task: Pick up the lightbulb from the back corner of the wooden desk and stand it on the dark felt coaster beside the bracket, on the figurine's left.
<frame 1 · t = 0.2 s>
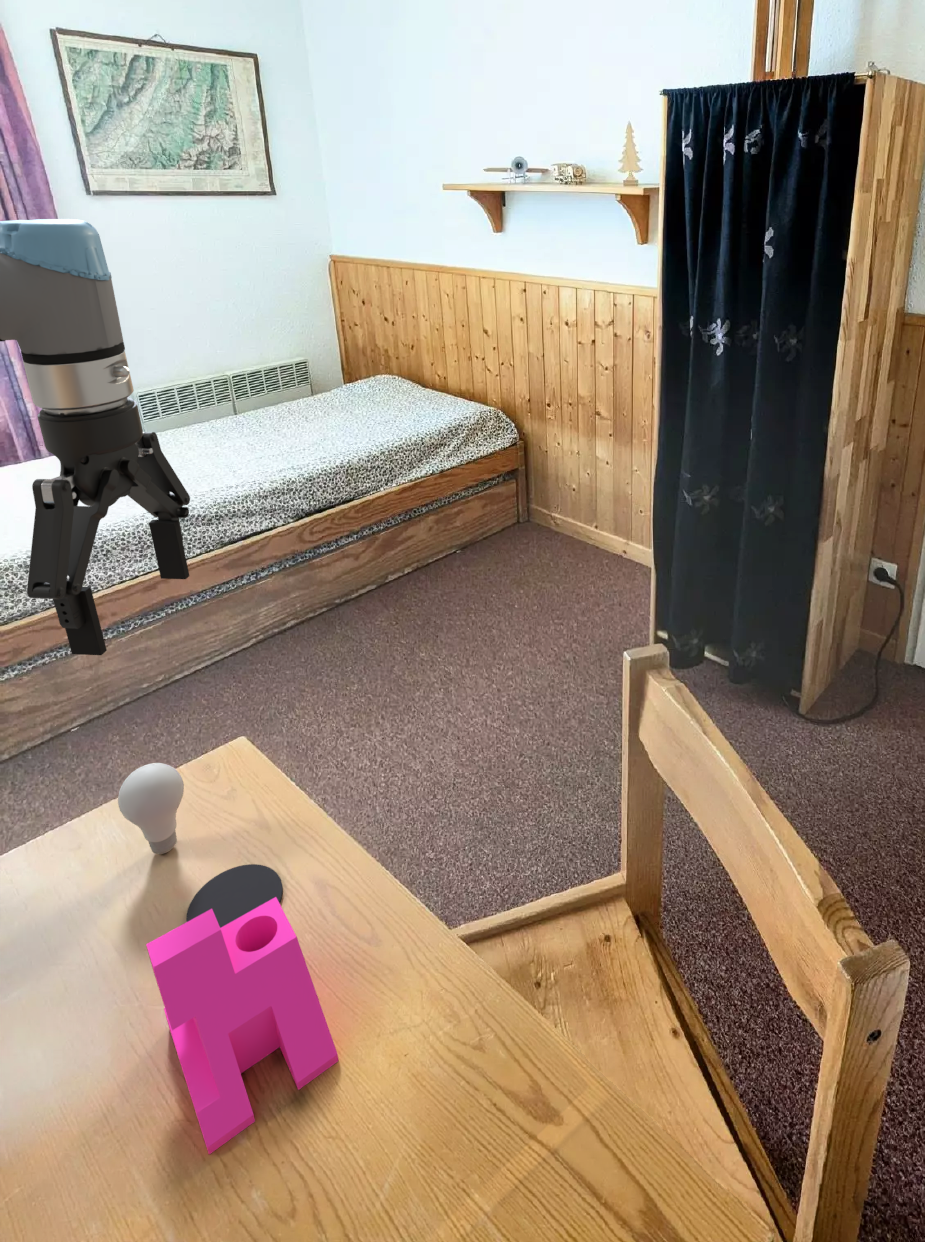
hand: (136, 612, 75), 30 cm above the table, tool pointing down, fingers open, 13 cm apart
lightbulb: (165, 851, 85), on the table
bracket: (252, 1045, 66), on the table
coaster: (235, 904, 79), on the table
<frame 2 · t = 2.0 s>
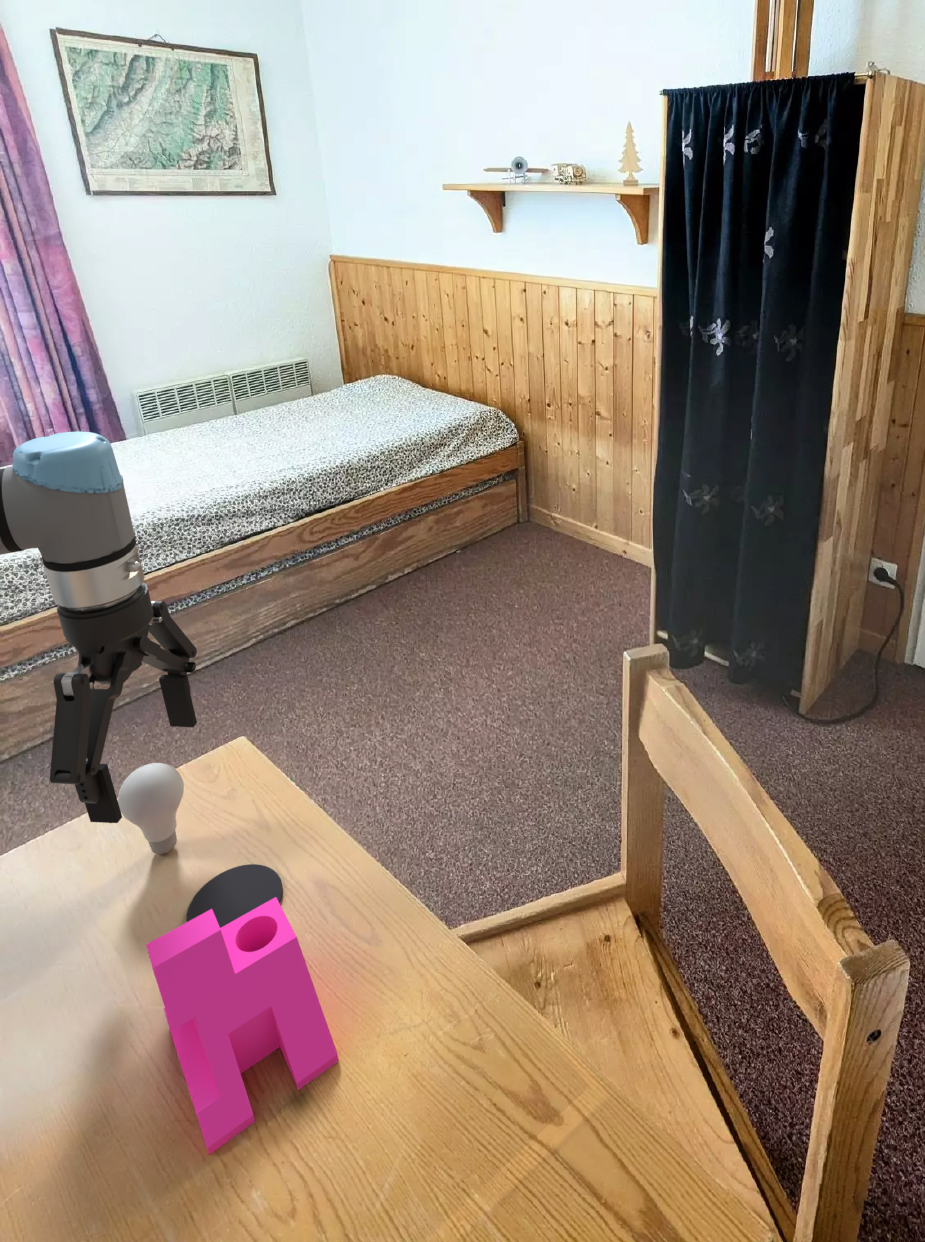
hand: (148, 768, 81), 11 cm above the table, tool pointing down, fingers open, 13 cm apart
nothing on the table moved.
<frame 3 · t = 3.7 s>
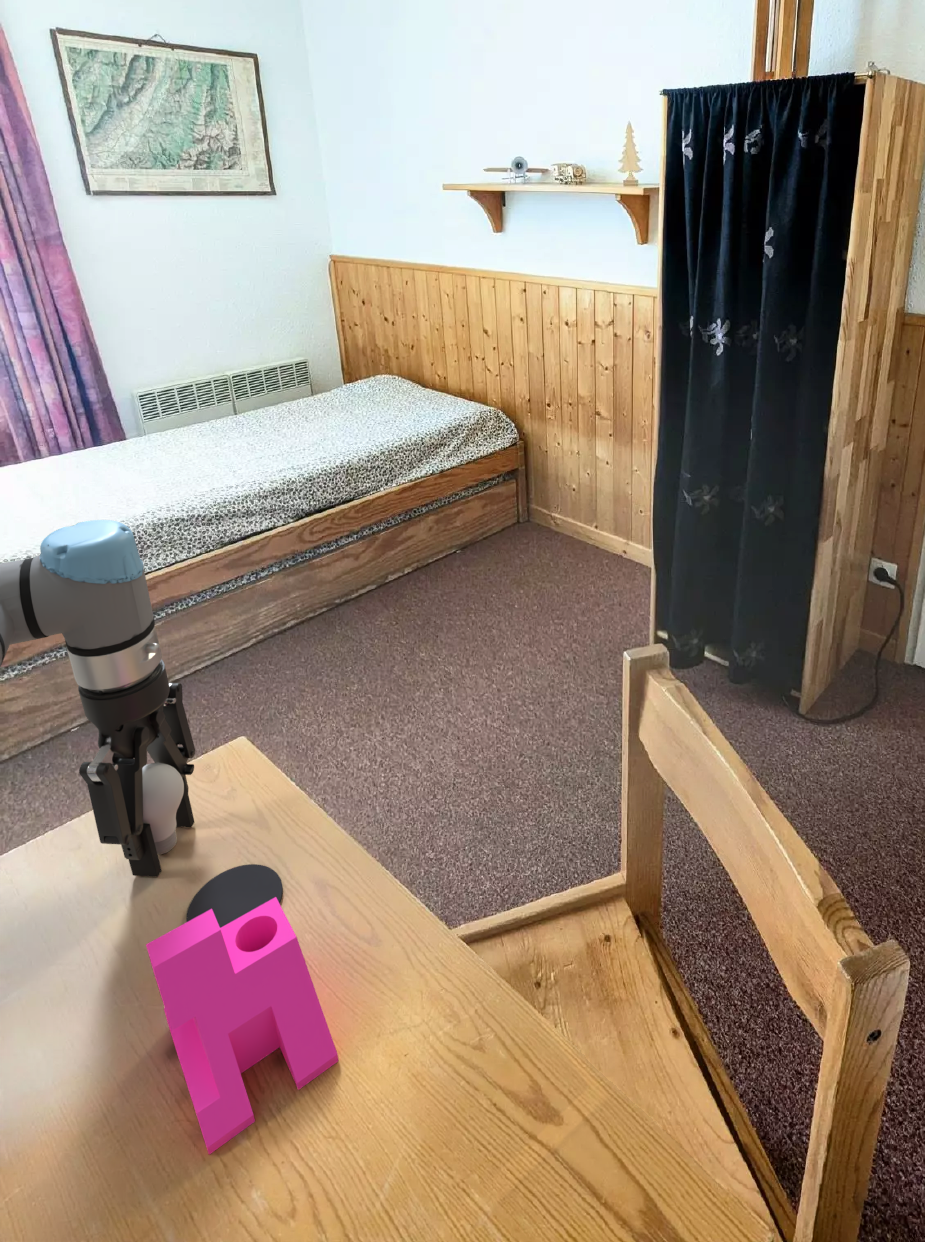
hand: (164, 847, 85), 0 cm above the table, tool pointing down, fingers closed on lightbulb, 6 cm apart
lightbulb: (165, 851, 85), on the table, touching gripper
everything else where it was.
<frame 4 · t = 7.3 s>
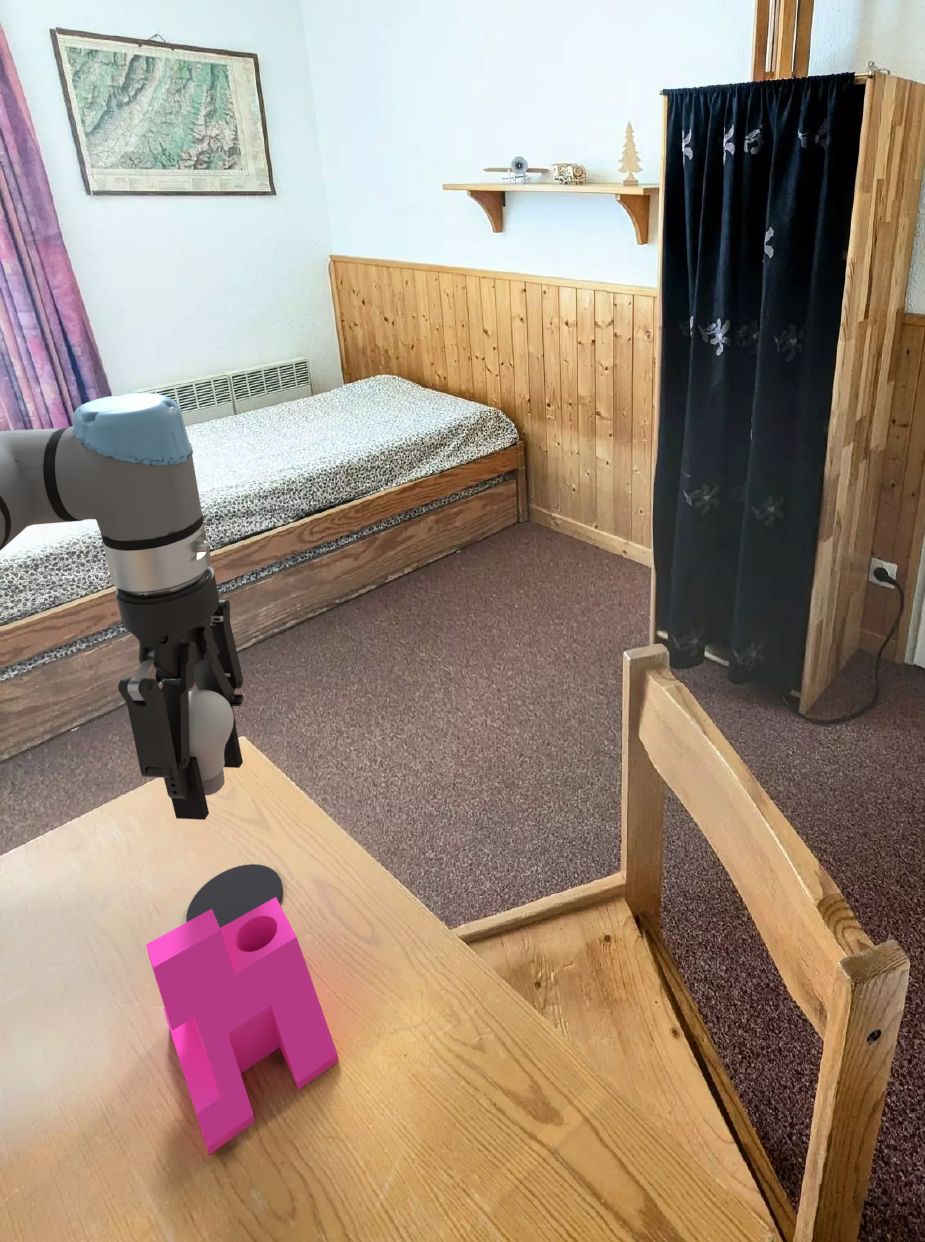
hand: (210, 788, 74), 15 cm above the table, tool pointing down, fingers closed on lightbulb, 6 cm apart
lightbulb: (212, 793, 74), point 14 cm above the table, touching gripper
everything else where it was.
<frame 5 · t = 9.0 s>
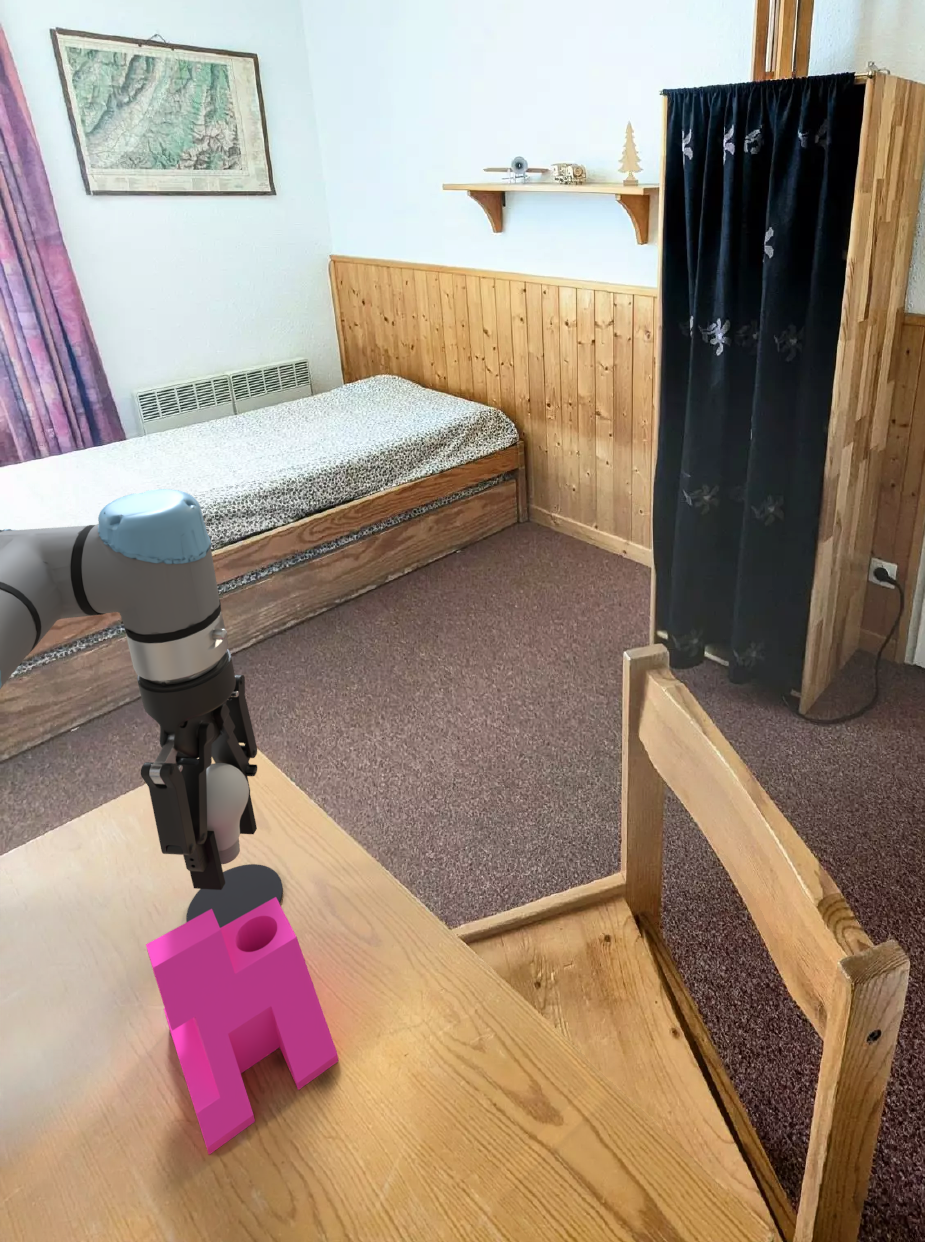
hand: (226, 856, 76), 6 cm above the table, tool pointing down, fingers closed on lightbulb, 6 cm apart
lightbulb: (227, 861, 77), point 6 cm above the table, touching gripper
everything else where it was.
when the fingers open (1 cm above the table, at t = 10.7 s): lightbulb stays where it is, resting on coaster.
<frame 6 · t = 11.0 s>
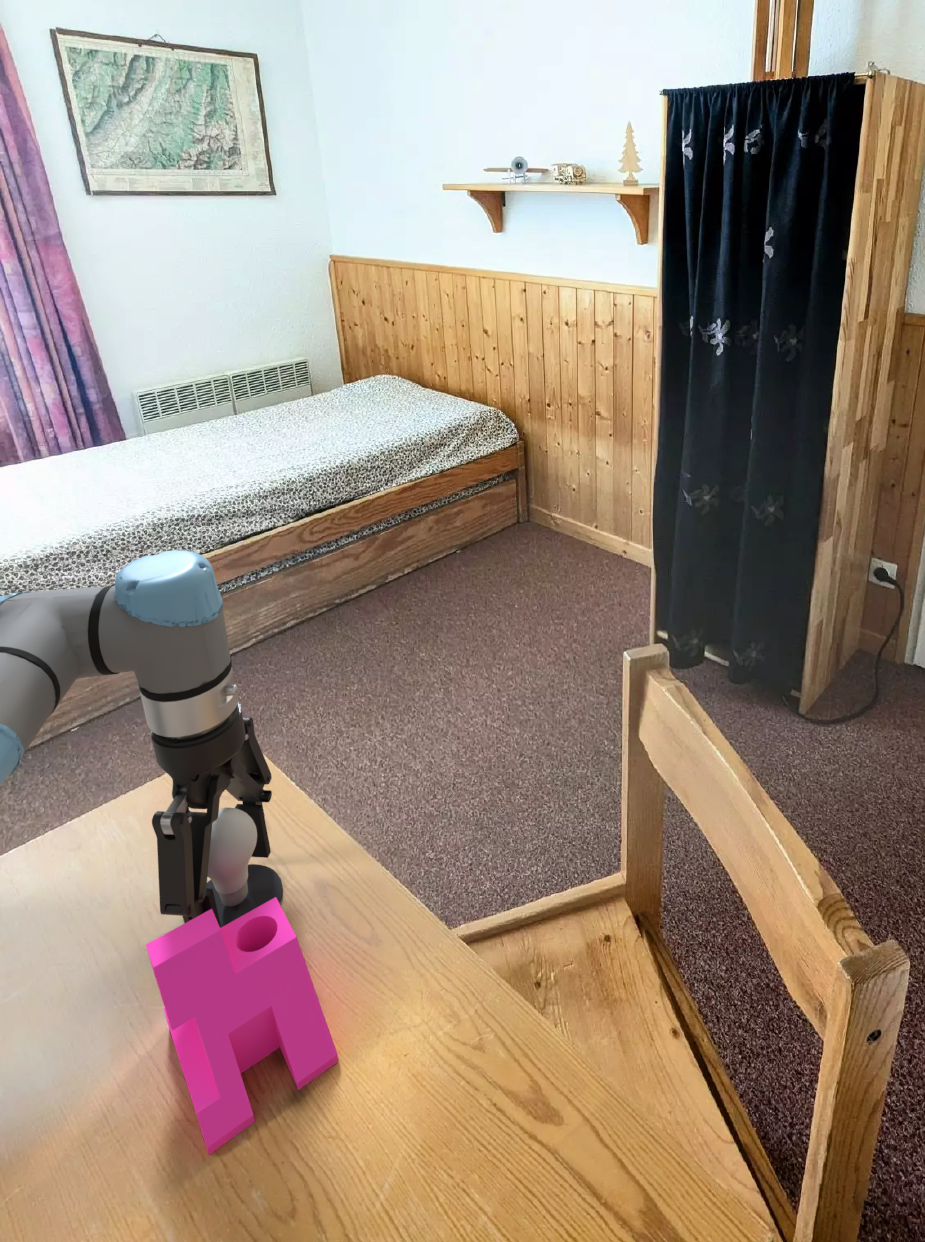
hand: (234, 895, 78), 1 cm above the table, tool pointing down, fingers open, 9 cm apart
lightbulb: (236, 902, 78), resting on coaster
everything else where it was.
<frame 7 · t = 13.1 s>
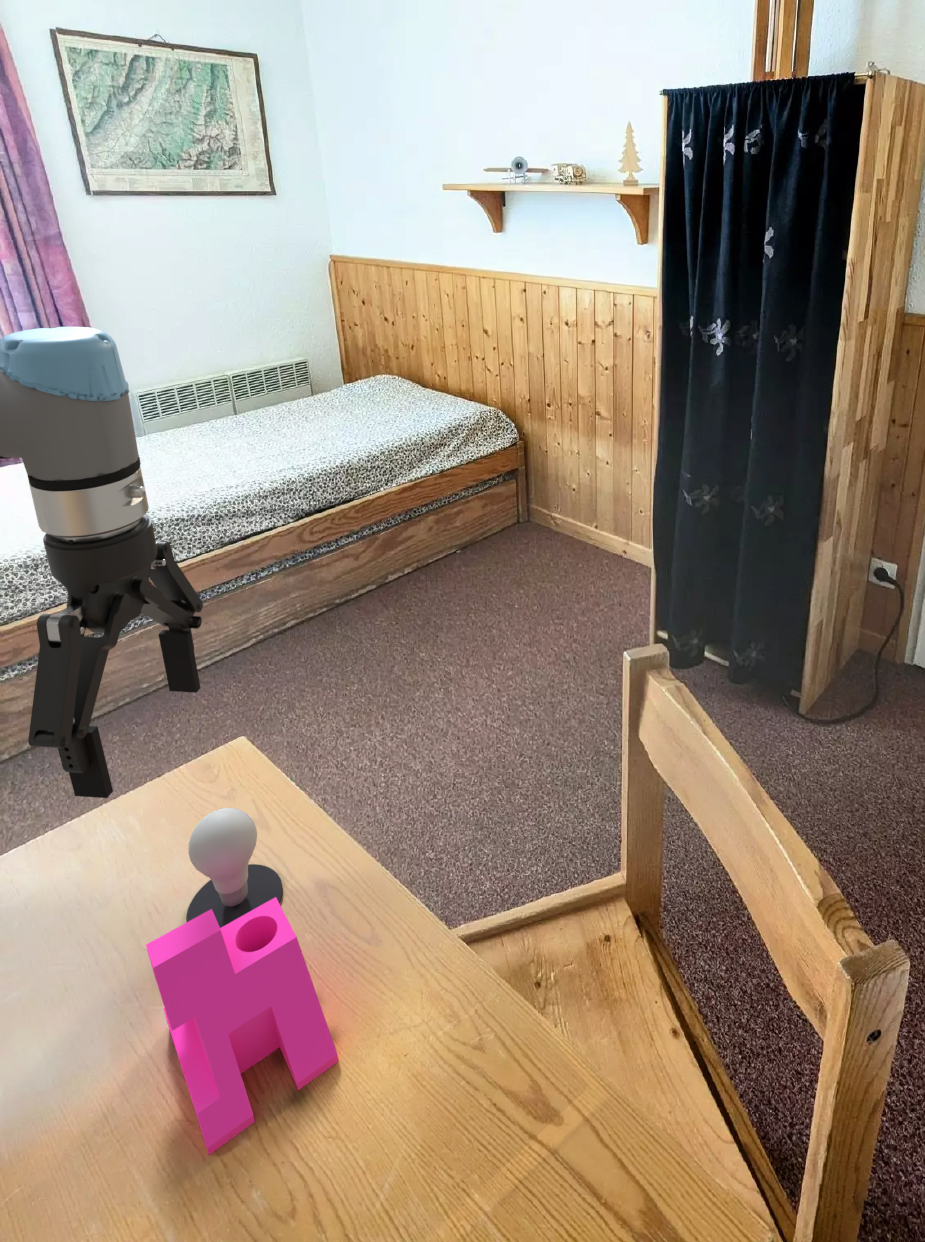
hand: (143, 737, 69), 22 cm above the table, tool pointing down, fingers open, 13 cm apart
nothing on the table moved.
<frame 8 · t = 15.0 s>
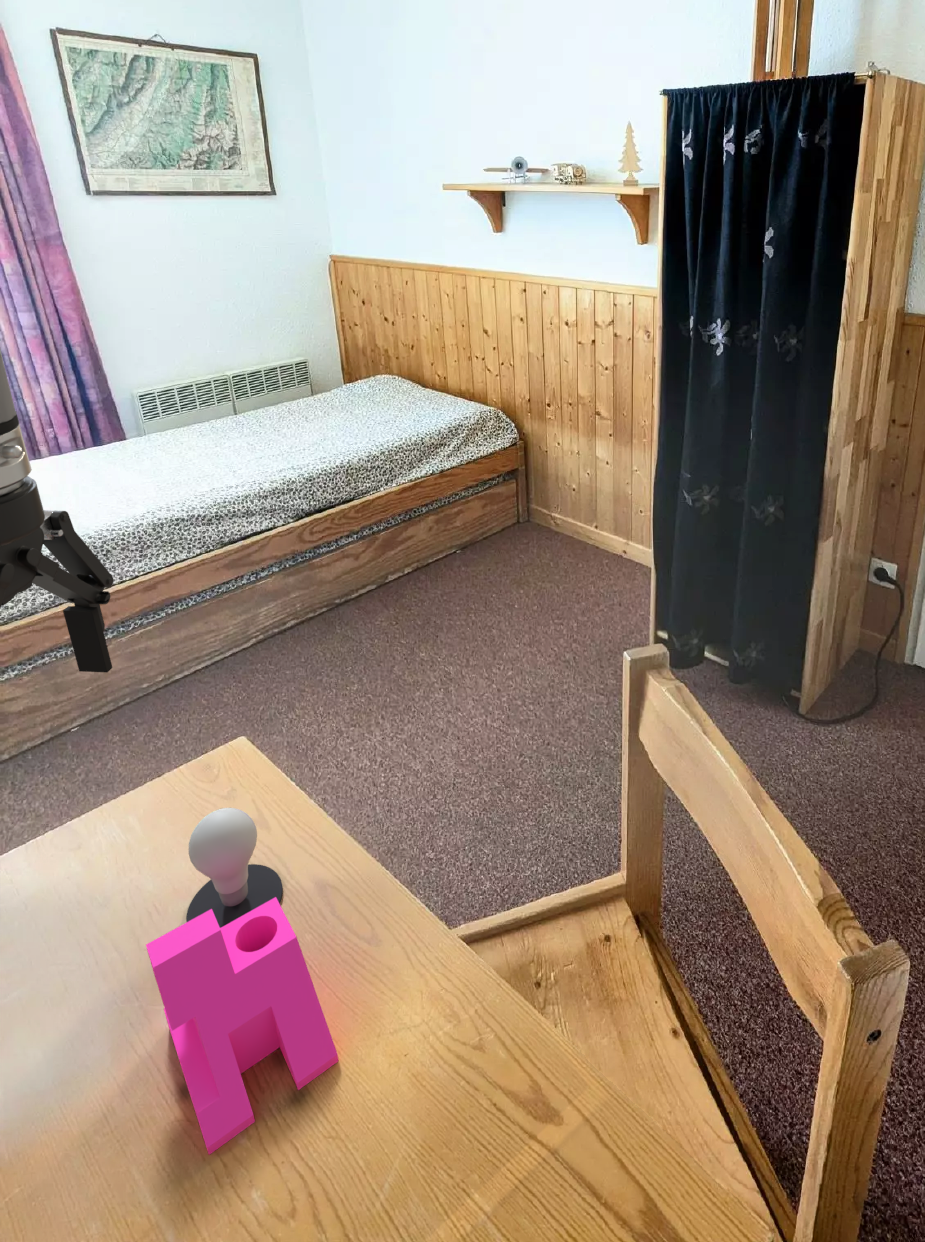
hand: (43, 718, 65), 27 cm above the table, tool pointing down, fingers open, 13 cm apart
nothing on the table moved.
at the end: lightbulb inside the target area on the table beside the bracket (0.1 cm from its centre), resting on coaster; lightbulb tilted 0°; bracket moved 0.2 cm from its start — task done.
